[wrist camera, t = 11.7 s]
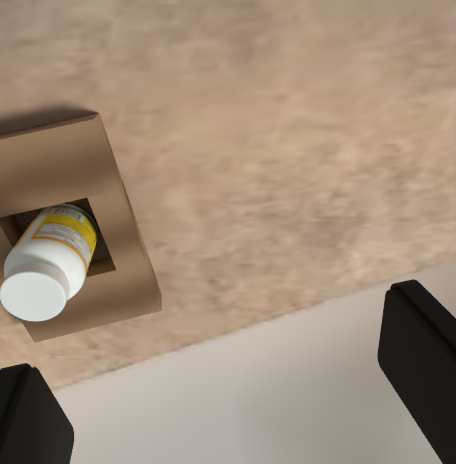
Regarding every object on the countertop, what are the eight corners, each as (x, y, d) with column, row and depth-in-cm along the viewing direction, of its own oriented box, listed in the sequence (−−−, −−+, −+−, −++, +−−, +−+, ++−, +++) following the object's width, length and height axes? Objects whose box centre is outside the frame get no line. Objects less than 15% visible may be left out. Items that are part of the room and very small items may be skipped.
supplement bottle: (79, 192, 30) (49, 250, 22) (109, 243, 33) (93, 312, 25) (19, 215, 30) (-33, 281, 22) (55, 264, 33) (19, 340, 25)
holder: (-61, 147, 27) (-80, 156, 25) (98, 113, 28) (93, 119, 26) (42, 324, 36) (34, 342, 34) (161, 294, 37) (161, 310, 34)
